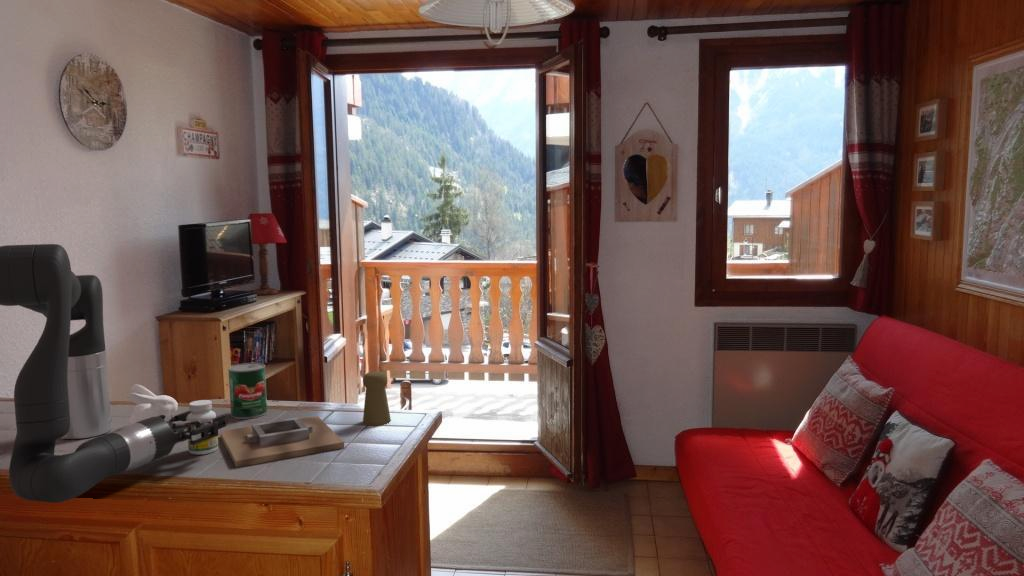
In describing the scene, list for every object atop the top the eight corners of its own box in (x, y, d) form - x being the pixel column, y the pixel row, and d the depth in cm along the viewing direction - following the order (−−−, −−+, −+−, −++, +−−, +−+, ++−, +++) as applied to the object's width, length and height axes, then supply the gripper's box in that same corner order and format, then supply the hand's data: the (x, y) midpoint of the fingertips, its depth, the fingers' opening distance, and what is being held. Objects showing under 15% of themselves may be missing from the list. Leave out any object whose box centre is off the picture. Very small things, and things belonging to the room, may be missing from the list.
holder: (235, 467, 132) (234, 450, 132) (220, 436, 149) (219, 421, 149) (344, 447, 142) (343, 432, 141) (318, 421, 159) (317, 407, 159)
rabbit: (185, 439, 148) (181, 382, 146) (138, 452, 141) (133, 392, 139) (156, 428, 155) (152, 374, 154) (110, 440, 148) (105, 383, 147)
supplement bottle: (218, 452, 140) (215, 404, 139) (188, 457, 138) (184, 407, 137) (218, 444, 145) (215, 397, 144) (188, 448, 143) (185, 400, 142)
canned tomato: (245, 421, 160) (242, 372, 159) (223, 415, 164) (220, 368, 163) (275, 412, 166) (272, 365, 165) (252, 407, 171) (250, 361, 169)
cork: (384, 426, 155) (382, 376, 153) (358, 425, 156) (356, 375, 155) (394, 418, 161) (393, 369, 159) (369, 416, 162) (367, 368, 160)
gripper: (167, 427, 124) (235, 402, 139) (107, 419, 129) (179, 396, 144) (170, 470, 125) (238, 440, 140) (110, 459, 130) (181, 432, 145)
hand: (208, 418), depth 142 cm, fingers open, 8 cm apart
